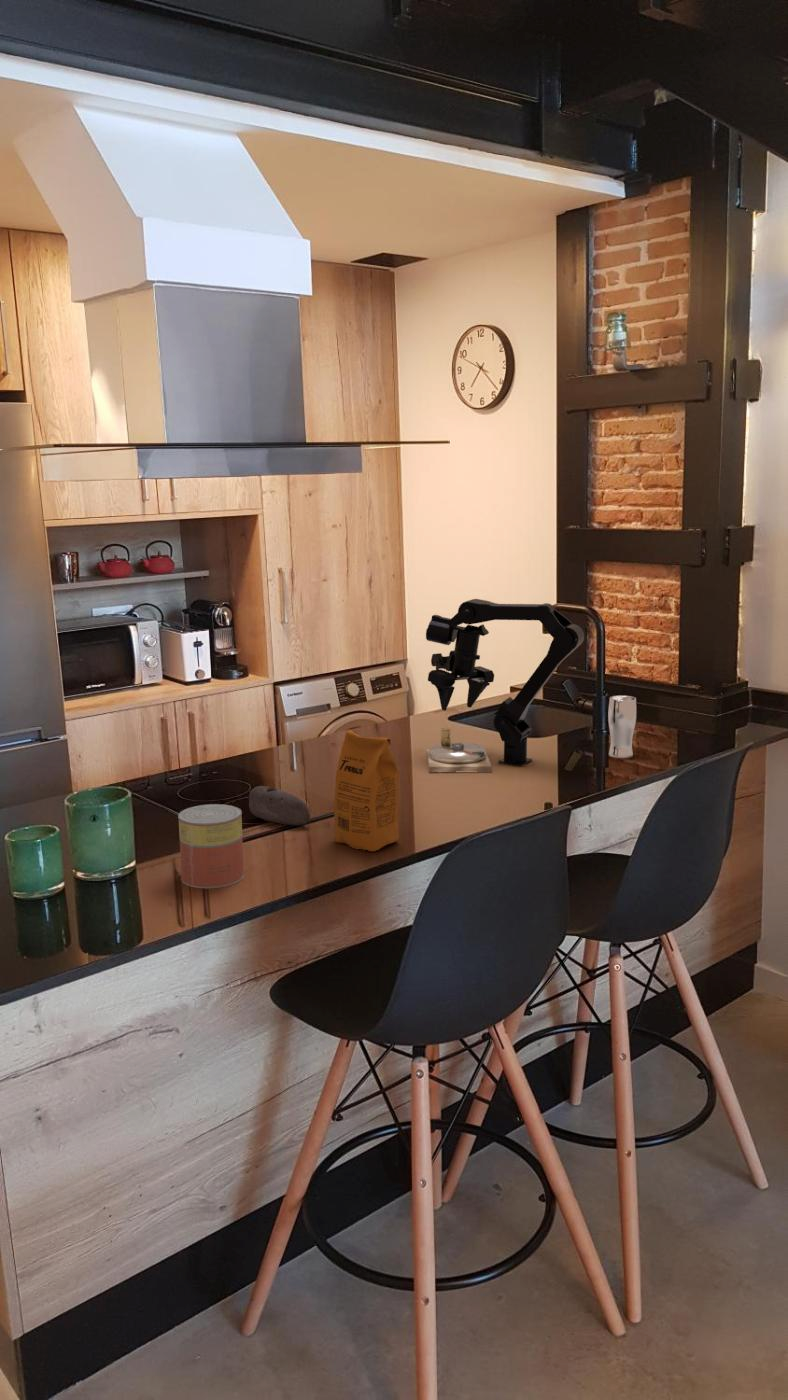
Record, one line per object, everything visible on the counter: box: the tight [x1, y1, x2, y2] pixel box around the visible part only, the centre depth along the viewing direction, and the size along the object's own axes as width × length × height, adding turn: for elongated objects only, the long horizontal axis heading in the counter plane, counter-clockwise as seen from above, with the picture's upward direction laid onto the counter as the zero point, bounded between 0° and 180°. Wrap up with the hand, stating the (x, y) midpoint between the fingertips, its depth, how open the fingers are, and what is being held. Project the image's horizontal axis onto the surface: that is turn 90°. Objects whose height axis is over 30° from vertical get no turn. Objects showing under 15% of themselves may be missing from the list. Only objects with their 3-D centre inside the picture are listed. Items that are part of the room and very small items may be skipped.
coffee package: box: [333, 729, 400, 852], centre depth 211 cm, size 10×12×22 cm
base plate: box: [425, 748, 492, 773], centre depth 270 cm, size 15×18×2 cm
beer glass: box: [607, 695, 637, 759], centre depth 275 cm, size 7×7×15 cm
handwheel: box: [429, 727, 487, 763], centre depth 269 cm, size 14×14×6 cm
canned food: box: [177, 803, 245, 889], centre depth 194 cm, size 11×11×12 cm
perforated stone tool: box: [248, 785, 311, 827], centre depth 225 cm, size 15×5×7 cm, turn 54°
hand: (456, 708), depth 274 cm, fingers open, 9 cm apart
